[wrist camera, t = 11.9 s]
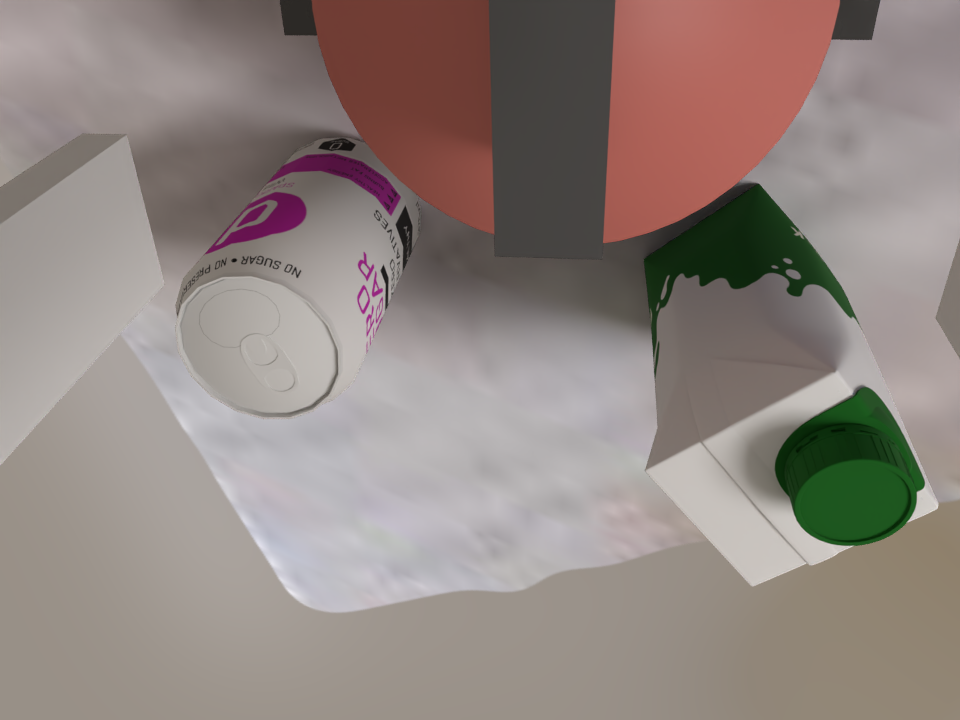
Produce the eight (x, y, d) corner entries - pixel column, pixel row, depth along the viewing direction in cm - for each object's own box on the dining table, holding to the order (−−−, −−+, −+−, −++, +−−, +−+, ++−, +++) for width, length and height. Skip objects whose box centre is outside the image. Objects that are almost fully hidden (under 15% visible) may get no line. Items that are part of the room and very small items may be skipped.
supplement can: (250, 167, 47) (120, 302, 35) (379, 108, 45) (288, 232, 32) (326, 289, 51) (232, 450, 39) (449, 241, 48) (391, 398, 36)
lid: (888, -335, 24) (1024, -396, 16) (787, 235, 33) (840, 375, 25) (287, -304, 26) (144, -343, 18) (351, 223, 35) (275, 349, 27)
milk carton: (852, 281, 47) (983, 554, 30) (706, 364, 51) (751, 645, 34) (764, 157, 44) (855, 385, 27) (617, 256, 48) (617, 507, 31)
